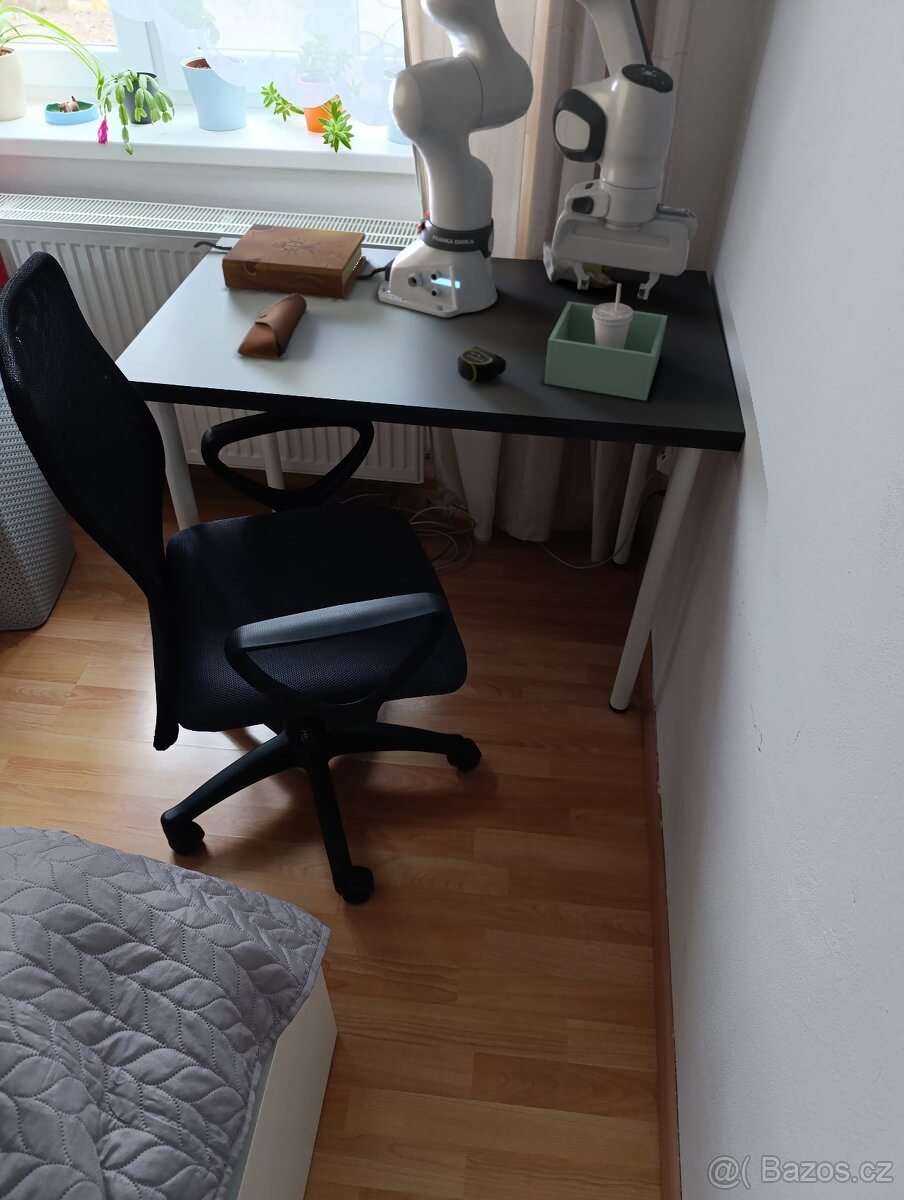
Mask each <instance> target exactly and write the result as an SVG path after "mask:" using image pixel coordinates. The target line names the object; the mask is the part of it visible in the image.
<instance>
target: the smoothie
mask: <svg viewBox="0 0 904 1200" xmlns="http://www.w3.org/2000/svg"><path fill="white" fill-rule="evenodd" d="M621 289H622V283H621V282H618V283H617V285H616V296H615V302H605V303H600V304H598V306H596V307H595V308H594V309H593V314H592V318H593V319H594V327H595V345H599V346H605V347H612V348H618V349H624V345H625V341H626V337H627V332H628V329H629V324H630V321H631V320H632V319H633V311H634V310H633V308H632V307H631V306H629V305H628V304H627V305H626V304H624V303H620V299H621V291H622V290H621Z"/></svg>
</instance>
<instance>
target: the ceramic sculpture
mask: <svg viewBox="0 0 904 1200" xmlns="http://www.w3.org/2000/svg"><path fill="white" fill-rule="evenodd" d="M542 251H543V265H544V267H545V270H546V273H547V277H548V279H549V281H550V282H551V283H556V282H557V281H558V280H565V281H570V282H573V283H575V284H578V278H577V276H576V273H575V271H574V269H573V260H566V259H560V258H556V257H555V256H554V254H553V253H552V242H548V241H543V249H542ZM582 268H583V271H584V273H585V275H589V276H590V278H589V281H588V282H589V285H588V287H591V288H592V289H593V288H594V289H606V288H610V287H615V286H617V284H618V283H617V282H616V281H613V280H611V279H610V277H609V276H608V275H607V274H605V273H606V272H608V271H611V270H612V269H615V267H613V266H606V265H599V264H593V263H586V262H584V264H583V266H582Z"/></svg>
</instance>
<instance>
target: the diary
mask: <svg viewBox="0 0 904 1200" xmlns="http://www.w3.org/2000/svg"><path fill="white" fill-rule="evenodd" d="M365 238H366V233H365V232H359V231H347V230H346V231H345V230H334V229H323V228H322V229H321V228H309V227H297V226H296V227H294V226H285V225H284V226H283V225H272V224H261V223H260V224H258V223H252V225H251V227H249V228H248V230H247V231H246V232H245V233H244V234H243V235H242V236H241V238H240V239H239V240H238V241H237V242H236V243H235V244H234V245H233V246H232V247H233V248H232V249H231V250H230V251H227V253H226V254H225V255H224V256H223V257H222V260H221V268H222V269H221V270H222V275H223V280H224V285H225V287H226V288H227V289H234V290H235V289H237V290H246V291H258V292H268V293H278V294H279V293H281V294H282V293H283V294H289V295H293V294H295V293H298V294H300V295H302V296H314V297H325V298H334V299H335V298H336V299H345V298H346V296H347V294H348V293H349V291H350V290H351V288H352V286H353V284H354V283H355V281H356V280H355V276H359V274H360V272H361V270H362V269H363V267H364V265H365V263H366V262H367V256H366V255H363V252H362V243H363V241H364V240H365ZM361 255H362V257H361ZM360 257H361V259H360ZM359 259H360V260H359ZM358 261H359V262H358ZM357 262H358V264H357ZM356 264H357V265H356ZM355 266H356V267H355ZM354 267H355V268H354ZM353 269H354V270H353Z"/></svg>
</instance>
